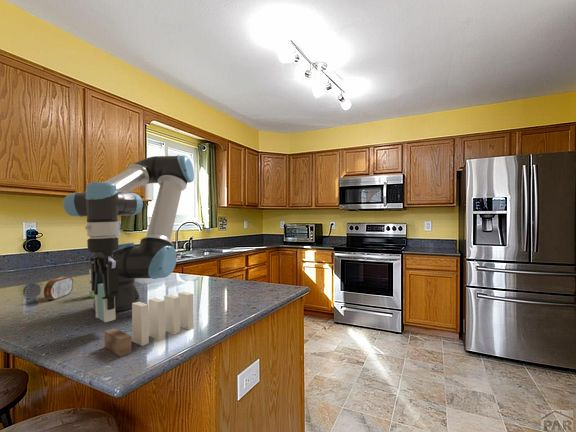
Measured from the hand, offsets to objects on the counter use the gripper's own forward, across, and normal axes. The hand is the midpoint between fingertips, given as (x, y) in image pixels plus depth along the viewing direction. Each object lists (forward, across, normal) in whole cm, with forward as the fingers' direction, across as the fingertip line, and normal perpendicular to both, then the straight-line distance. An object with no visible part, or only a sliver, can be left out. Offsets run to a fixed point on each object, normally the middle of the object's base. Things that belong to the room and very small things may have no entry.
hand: (105, 318), depth 85 cm
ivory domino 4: (+4, +16, +16) cm, 23 cm away
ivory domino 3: (+4, +16, +11) cm, 20 cm away
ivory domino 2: (+4, +16, +7) cm, 17 cm away
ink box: (+5, -48, +17) cm, 52 cm away
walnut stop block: (+4, +16, -3) cm, 16 cm away
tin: (+5, -60, +5) cm, 61 cm away
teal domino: (0, 0, 0) cm, 0 cm away
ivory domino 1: (+4, +16, +2) cm, 16 cm away
